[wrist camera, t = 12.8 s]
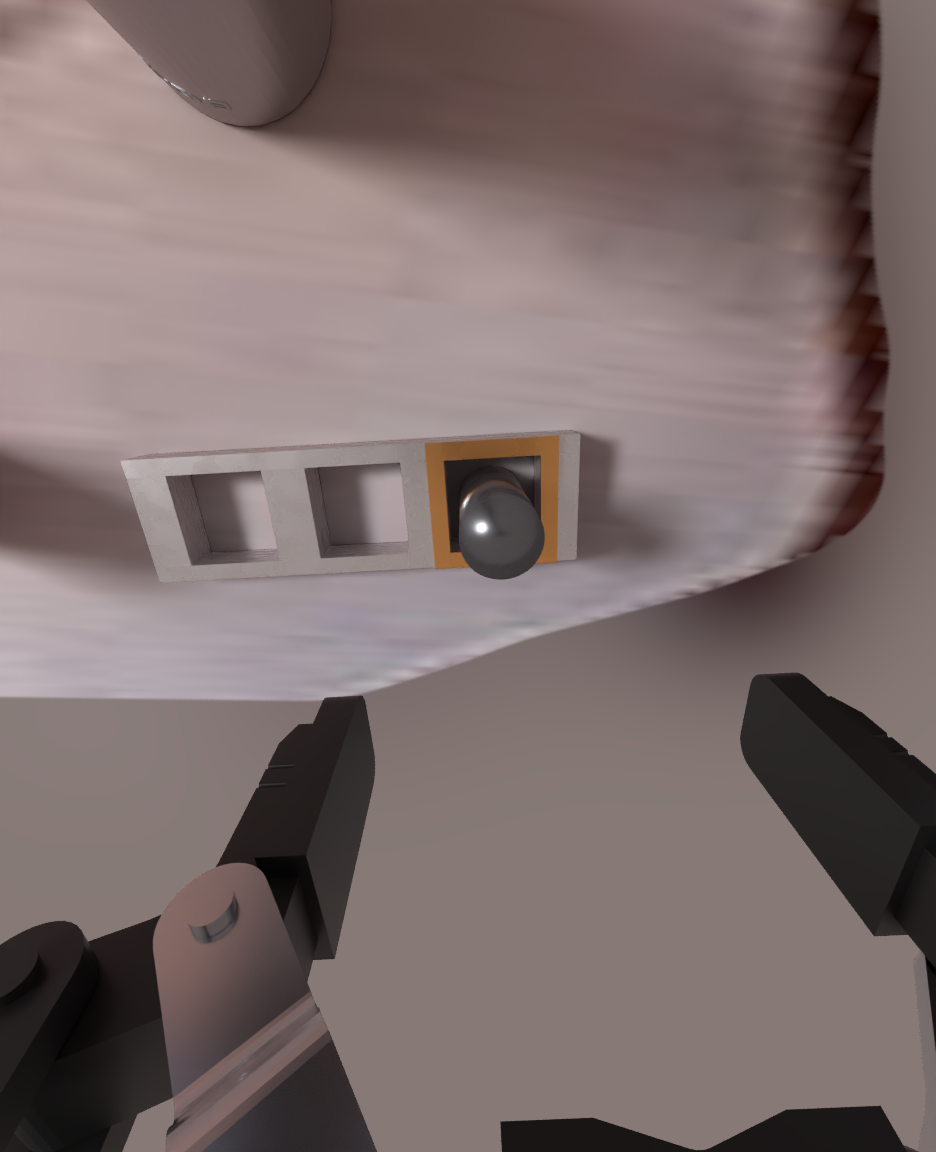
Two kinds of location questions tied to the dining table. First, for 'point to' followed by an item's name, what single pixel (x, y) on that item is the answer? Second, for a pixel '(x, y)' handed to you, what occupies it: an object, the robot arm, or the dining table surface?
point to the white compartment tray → (301, 511)
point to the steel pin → (498, 524)
